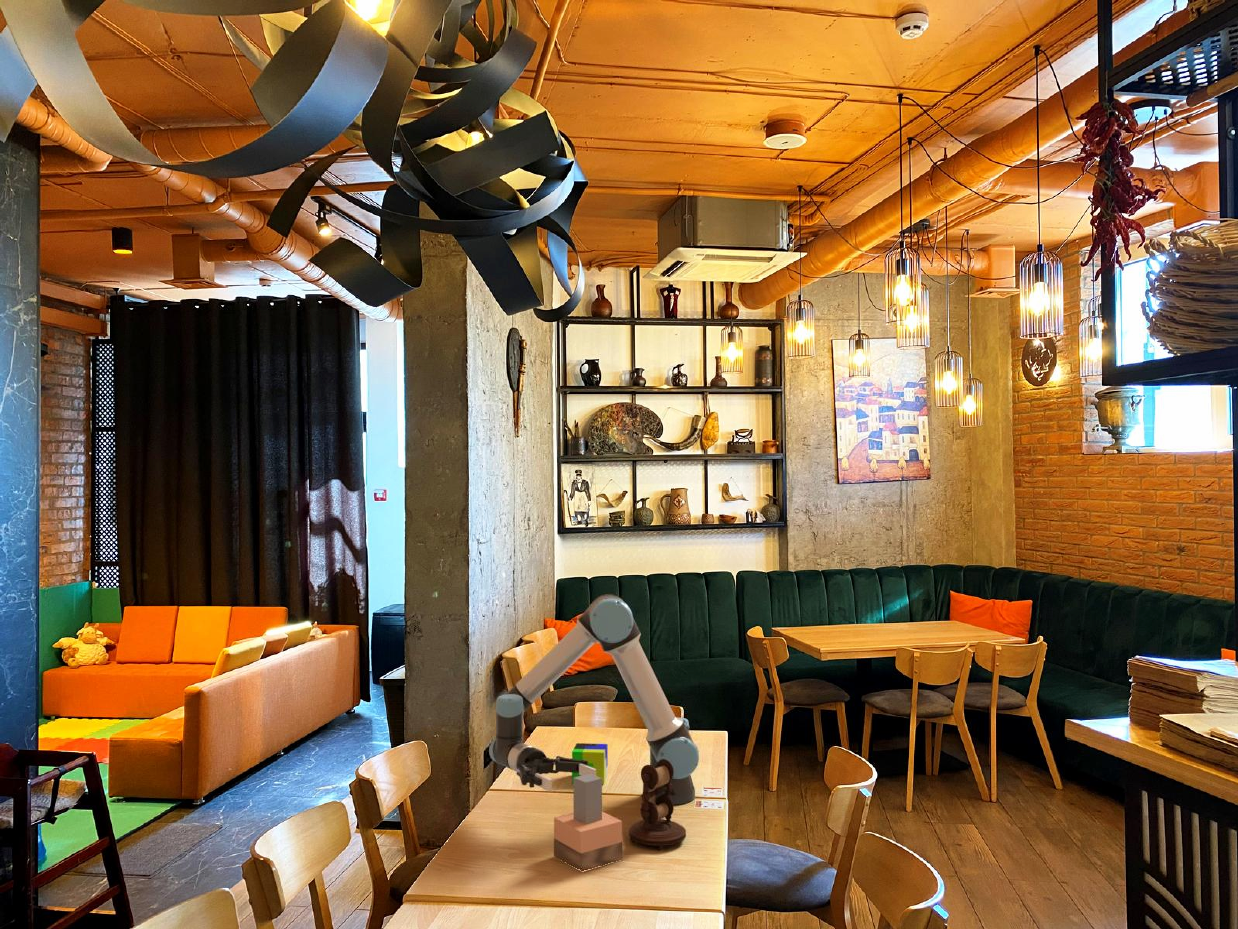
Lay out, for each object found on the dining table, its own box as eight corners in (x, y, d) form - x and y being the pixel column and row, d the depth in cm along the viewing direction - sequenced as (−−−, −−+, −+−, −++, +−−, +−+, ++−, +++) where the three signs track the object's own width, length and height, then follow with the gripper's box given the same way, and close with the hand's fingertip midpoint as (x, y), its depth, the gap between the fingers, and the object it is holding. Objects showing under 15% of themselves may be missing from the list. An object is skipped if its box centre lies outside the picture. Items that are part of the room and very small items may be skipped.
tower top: (594, 827, 225) (594, 807, 225) (622, 842, 215) (621, 821, 215) (554, 838, 218) (554, 817, 218) (581, 853, 208) (580, 832, 208)
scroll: (651, 826, 238) (651, 751, 239) (697, 839, 229) (696, 761, 230) (617, 842, 227) (617, 763, 228) (663, 856, 218) (663, 774, 218)
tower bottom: (593, 847, 225) (592, 827, 225) (622, 862, 215) (622, 841, 216) (553, 858, 217) (553, 838, 218) (582, 874, 208) (582, 853, 208)
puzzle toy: (607, 775, 283) (607, 744, 284) (603, 785, 273) (603, 752, 274) (576, 774, 284) (576, 743, 285) (572, 784, 274) (572, 751, 275)
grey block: (589, 814, 220) (589, 773, 220) (602, 819, 216) (602, 778, 217) (573, 819, 217) (573, 777, 217) (586, 824, 213) (586, 782, 213)
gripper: (565, 766, 246) (612, 785, 229) (487, 784, 230) (531, 805, 214) (566, 739, 246) (612, 756, 230) (487, 755, 231) (531, 774, 214)
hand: (573, 780), depth 222 cm, fingers open, 13 cm apart
